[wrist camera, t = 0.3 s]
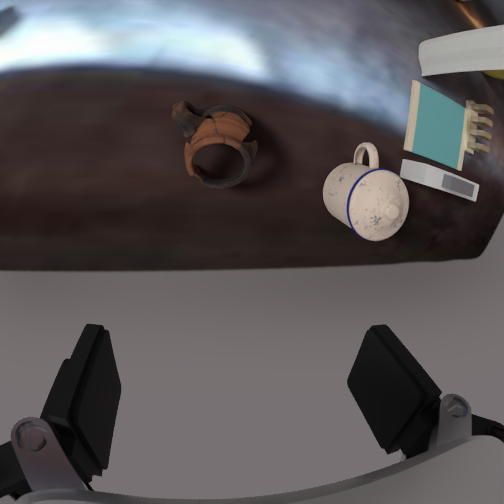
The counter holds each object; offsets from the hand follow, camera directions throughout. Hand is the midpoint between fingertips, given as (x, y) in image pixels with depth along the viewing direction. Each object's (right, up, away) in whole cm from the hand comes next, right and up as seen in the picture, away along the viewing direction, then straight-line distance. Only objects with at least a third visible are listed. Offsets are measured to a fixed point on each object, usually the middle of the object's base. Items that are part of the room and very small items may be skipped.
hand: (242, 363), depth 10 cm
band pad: (+32, +25, +29) cm, 50 cm away
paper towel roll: (+30, +36, +24) cm, 53 cm away
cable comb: (+40, +27, +30) cm, 57 cm away
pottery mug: (-5, +18, +26) cm, 32 cm away
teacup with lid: (+14, +14, +31) cm, 37 cm away
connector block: (+31, +16, +32) cm, 48 cm away
